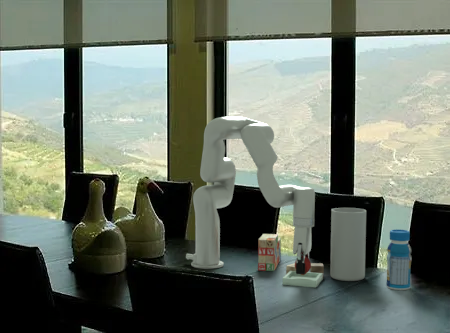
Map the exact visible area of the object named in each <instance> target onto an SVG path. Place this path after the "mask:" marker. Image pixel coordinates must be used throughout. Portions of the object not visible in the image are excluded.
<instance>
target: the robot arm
mask: <svg viewBox="0 0 450 333" xmlns="http://www.w3.org/2000/svg"><path fill="white" fill-rule="evenodd" d="M203 132H204V133H203V146H202V156H201V162H200V170H199V171H200V173H199V175H200V178H201V180H202V181H203V182H205V183H209V184H207V185H203V186H199V187H198V188H197V189H196V190H195V191H194V193H193V194H192V202H193V207H194V216H195V221H194V222H195V253H193V254H192V253H186V254H185V259H186V260H192V262H191V263H190V264H191V267H193V268H196V269H204V270H210V269H213V270H214V269H218V268H219V269H220V268H222V267H224V264H225V263H224V261H222V260H220V256H221V252H220V251H221V250H220V245H221V244H220V242H221V241H220V240H221V237H220V236H221V234H220V233H221V228H220V227H221V223H220V222H221V221H220V216H219V213H218V210H217V209H222V208H225V207H227V206H229V205H230V204H231V202H232V200H233V196H234V195H233V194H234V190H235V183H236V173H237V169H236V165H235V163H234V162H233V160H232V159H231V158H229V157H225V154H226V145H225V142H224V140H241V141H242V143H243V145H244V146H245V148H246V150H247V152H248V154H249V155H250V158H251V159H252V161H253V163H254V164H255V166H256V177H257V179H256V180H257V184H258V188H259V190H260V192H261V193H262V196H263V197H264V199H265V201H266V202H267V203H268V204H269V205H270V206H271V207H273V208H283V207H289V206H293V207H292V210H293V211H292V212H293V213H292V227H294V230H293V240H292V241H293V243H292V244H293V245H292V254H293V255H296V260H295V261H296V274H305V263H304V262H305V256H306V257H307V258H308V259H309V260H310V252H311V251H312V250H311V249H312V228H313V227H315V210H316V209H315V202H316V199H315V198H316V190H315V189H314V188H312V187H306V186H298V185H294V184H283V185H279V183H278V182H277V181H278V180H276V177H275V174H274V165H275V164H276V163H277V161H278V154H277V153H276V151H275V149H274V148H273V146H272V145H271V144H272V143H273V141H274V139H275V132H274V130H273V128H272V127H271V126H270V125H268V123H264V122H261V121H258V120H254V119H250V118H249V117H243V116H221V117H216V118H214V119H212V120H210V121H209V122H208V123H207V124H206V126H205V129H204V131H203ZM212 183H213V184H212ZM302 253H303V254H302ZM301 256H303V258H302V257H301Z"/></svg>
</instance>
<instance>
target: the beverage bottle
mask: <svg viewBox="0 0 450 333" xmlns="http://www.w3.org/2000/svg"><path fill="white" fill-rule="evenodd" d="M410 235H411V233H410V231H409V230H407V229H397V228H396V229H391V230H389V240H390V242H389V243H388V246H387V254H386V263H387V264H386V288H388V289H390V290H394V291H406V290H410V289H411V271H412V270H411V265H412V255H411V254H412V247H411V246H410V244H409V241H410V238H411V236H410Z"/></svg>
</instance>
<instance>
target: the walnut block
mask: <svg viewBox="0 0 450 333" xmlns="http://www.w3.org/2000/svg"><path fill="white" fill-rule="evenodd" d="M324 267H325V266H324V264H323V263H321V262H319V263H317V262H316V263H315V262H314V263H313V262H311V268H310V270H309V272H313V273H323V274H324Z"/></svg>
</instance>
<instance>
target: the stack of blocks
mask: <svg viewBox="0 0 450 333" xmlns="http://www.w3.org/2000/svg"><path fill="white" fill-rule="evenodd" d="M281 239H282V238H281V237H279V234H275V233H262V235H261V236H260V237H259V238H258V239H257V240H258V246H257V247H258V248H257V253H258V254H257V257H258V258H257V260H258V261H257V271H263V272H265V271H266V272H268V271H269V272H274V271H275V270H276V269H277V267H278V264H279V263H280V261H281V259H282V258H281V257H282V252H281V251H282V250H281V249H282V245H281V244H282V243H281Z"/></svg>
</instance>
